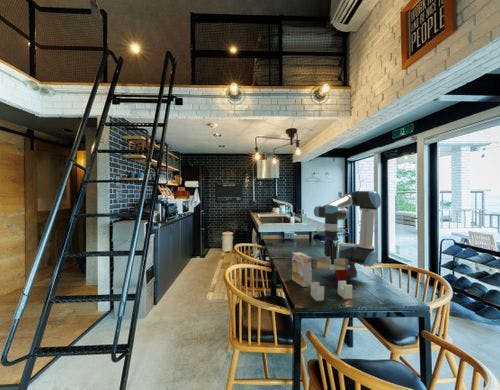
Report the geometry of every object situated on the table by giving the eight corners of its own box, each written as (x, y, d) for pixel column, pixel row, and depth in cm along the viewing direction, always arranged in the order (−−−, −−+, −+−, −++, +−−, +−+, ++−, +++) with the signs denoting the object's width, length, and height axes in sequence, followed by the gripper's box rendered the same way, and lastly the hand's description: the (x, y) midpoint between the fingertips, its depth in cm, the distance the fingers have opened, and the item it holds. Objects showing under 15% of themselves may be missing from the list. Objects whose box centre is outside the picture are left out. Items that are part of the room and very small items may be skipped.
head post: (310, 294, 152) (310, 282, 152) (318, 294, 153) (318, 281, 153) (315, 300, 145) (316, 287, 144) (323, 300, 145) (324, 286, 145)
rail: (310, 267, 152) (311, 258, 152) (344, 267, 154) (345, 258, 154) (313, 270, 148) (313, 259, 148) (348, 269, 150) (348, 259, 150)
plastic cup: (330, 279, 179) (330, 263, 179) (344, 278, 181) (344, 262, 181) (338, 285, 169) (338, 267, 168) (352, 284, 170) (353, 267, 170)
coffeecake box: (291, 279, 178) (292, 252, 178) (300, 278, 181) (300, 251, 180) (303, 287, 164) (303, 258, 164) (312, 286, 167) (312, 257, 166)
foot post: (337, 293, 155) (338, 280, 155) (345, 293, 156) (345, 280, 156) (344, 299, 147) (344, 285, 147) (352, 298, 148) (352, 285, 148)
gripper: (319, 228, 159) (318, 264, 159) (331, 232, 142) (330, 273, 142) (330, 228, 160) (329, 264, 160) (343, 232, 143) (342, 272, 143)
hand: (329, 268), depth 151 cm, fingers closed on rail, 4 cm apart
